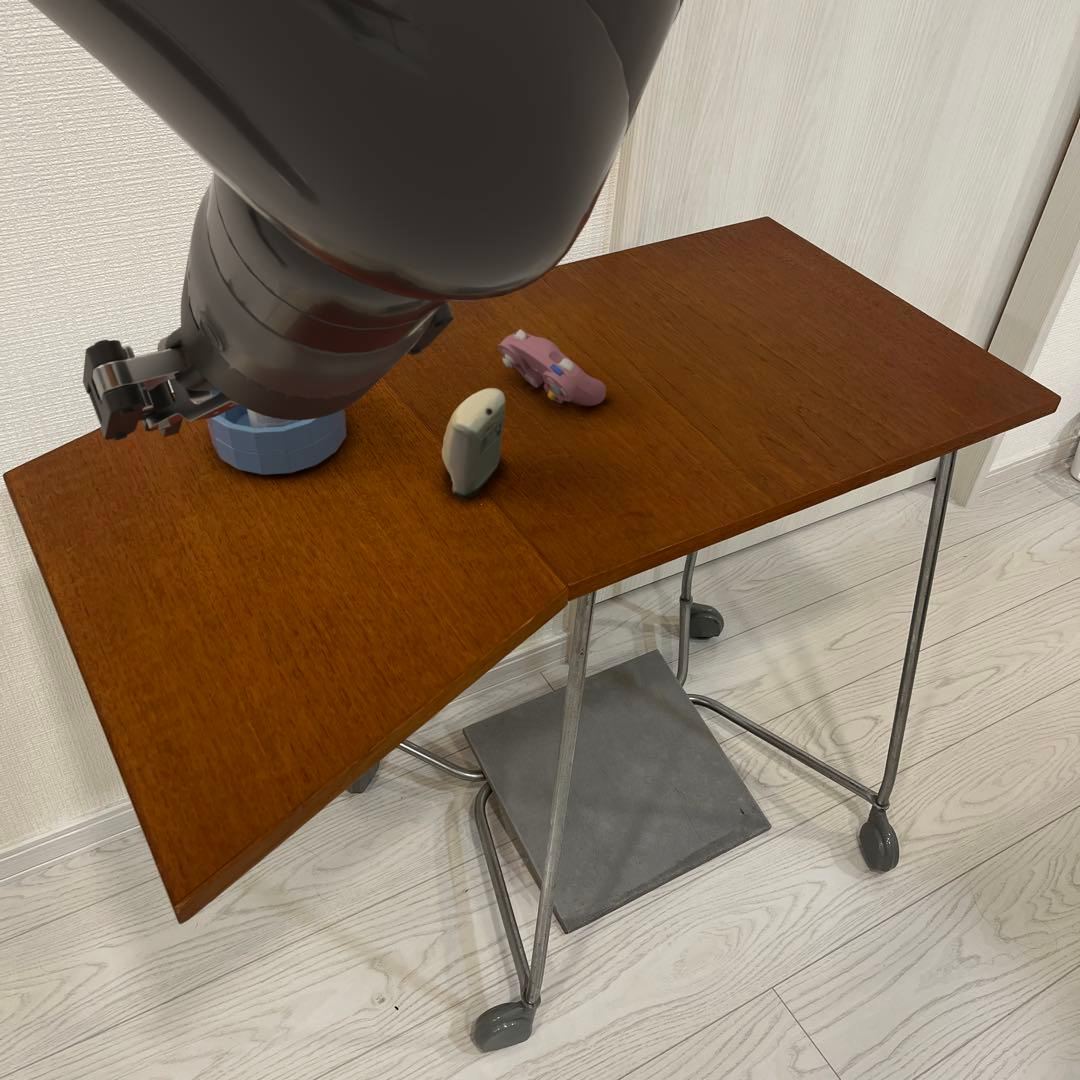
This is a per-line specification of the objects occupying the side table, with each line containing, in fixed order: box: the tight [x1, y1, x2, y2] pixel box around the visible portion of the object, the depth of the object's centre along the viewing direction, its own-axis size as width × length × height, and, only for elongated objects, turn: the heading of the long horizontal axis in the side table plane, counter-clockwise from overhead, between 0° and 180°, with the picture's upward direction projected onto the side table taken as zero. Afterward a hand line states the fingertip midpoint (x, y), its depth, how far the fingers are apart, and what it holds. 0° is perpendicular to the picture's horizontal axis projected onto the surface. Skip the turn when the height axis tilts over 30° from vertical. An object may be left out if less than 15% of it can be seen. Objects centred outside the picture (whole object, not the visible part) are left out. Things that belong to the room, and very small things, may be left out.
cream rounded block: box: [441, 387, 507, 500], centre depth 81 cm, size 6×5×8 cm
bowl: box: [205, 391, 347, 476], centre depth 86 cm, size 11×11×5 cm
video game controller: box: [497, 329, 607, 407], centre depth 91 cm, size 10×5×7 cm, turn 43°
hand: (252, 388), depth 48 cm, fingers open, 8 cm apart
